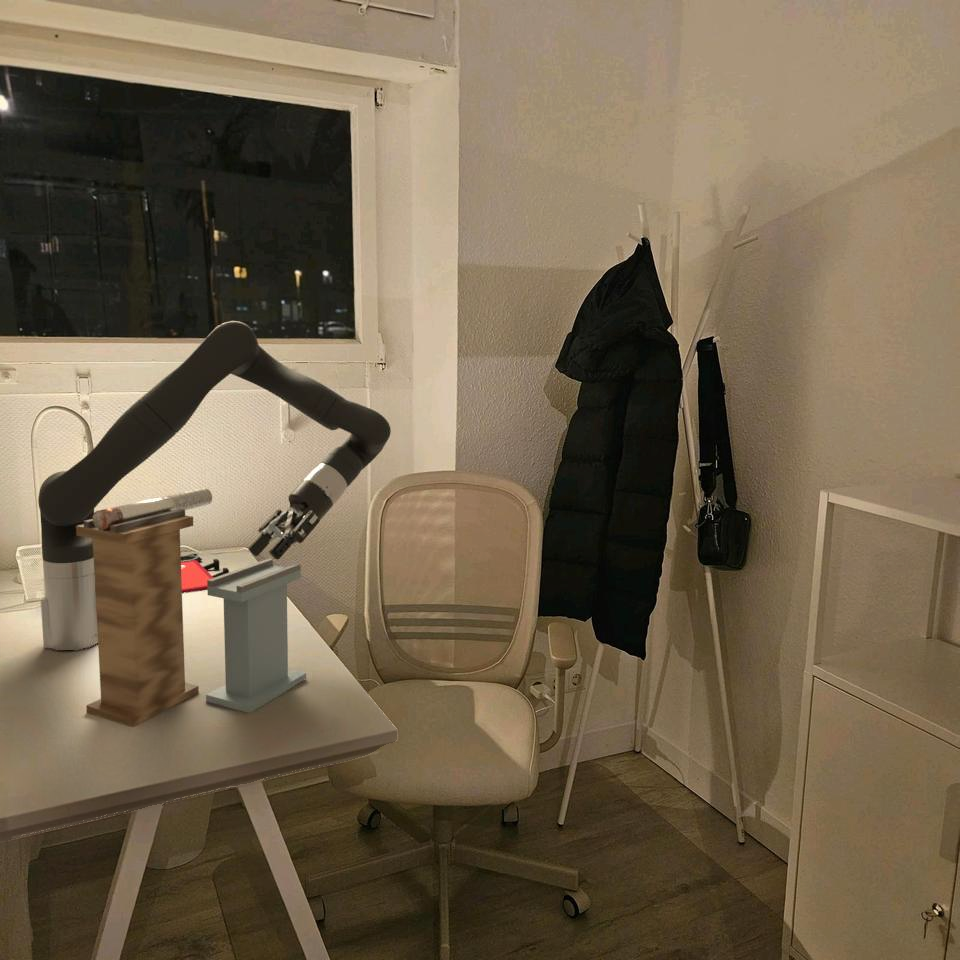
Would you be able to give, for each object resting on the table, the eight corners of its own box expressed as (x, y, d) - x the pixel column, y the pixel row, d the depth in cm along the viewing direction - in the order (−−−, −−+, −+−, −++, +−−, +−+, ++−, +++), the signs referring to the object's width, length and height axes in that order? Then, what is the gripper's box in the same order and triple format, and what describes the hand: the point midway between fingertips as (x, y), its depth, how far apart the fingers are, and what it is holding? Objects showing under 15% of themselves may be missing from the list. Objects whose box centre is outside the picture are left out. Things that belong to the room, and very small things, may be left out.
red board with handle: (203, 556, 223) (144, 563, 215) (203, 546, 223) (144, 553, 215) (236, 587, 199) (171, 597, 191) (236, 576, 198) (171, 586, 190)
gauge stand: (132, 726, 127) (123, 527, 122) (86, 712, 132) (75, 519, 126) (198, 692, 140) (192, 510, 134) (154, 680, 144) (147, 503, 139)
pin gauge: (106, 532, 124) (107, 513, 123) (92, 527, 125) (93, 508, 124) (211, 506, 143) (212, 490, 143) (198, 502, 144) (199, 486, 144)
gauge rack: (249, 713, 133) (246, 587, 129) (206, 701, 137) (202, 579, 133) (306, 679, 146) (305, 565, 143) (265, 669, 150) (263, 557, 146)
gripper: (288, 478, 163) (232, 538, 155) (325, 478, 152) (266, 542, 144) (312, 505, 166) (258, 565, 158) (349, 507, 155) (293, 571, 148)
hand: (262, 554), depth 151 cm, fingers open, 8 cm apart
